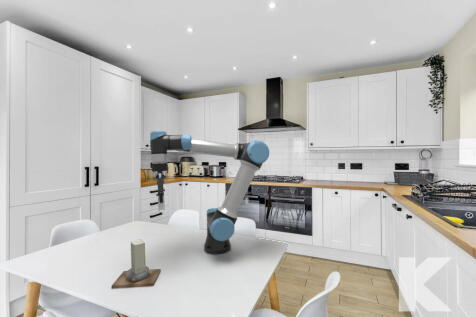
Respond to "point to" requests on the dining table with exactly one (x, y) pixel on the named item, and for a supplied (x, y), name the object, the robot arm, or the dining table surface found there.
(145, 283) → the bayonet base
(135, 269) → the skincare box
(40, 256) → the dining table surface
